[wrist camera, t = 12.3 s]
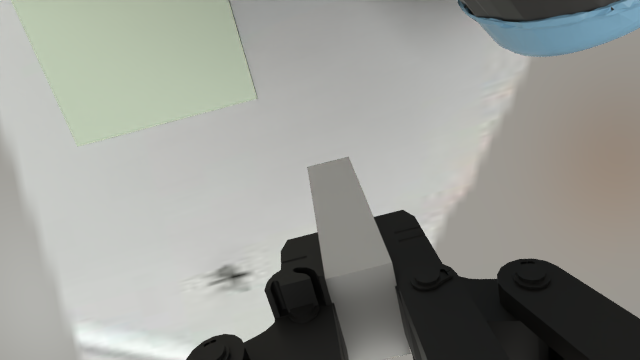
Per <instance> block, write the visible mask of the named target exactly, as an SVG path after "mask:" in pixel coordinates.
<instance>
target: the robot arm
mask: <svg viewBox="0 0 640 360" xmlns="http://www.w3.org/2000/svg"><path fill="white" fill-rule="evenodd" d="M458 4H459V6H460V7H461V9H462V10H463V11H464V12H465V14H466V15H468V16H469V17H470V18H472V19H474V20H475V21H477V22H478V23H479V24H480V25H481V26H482V27H483V28H484V30H485V31H486V32H487V33H488V34H489V35H490V36H491V37H492V38H493V40H494V41H495V42H496V43H497V44H499V45H500V46H501V47H503V48H505V49H508V50H510V51H512V52H514V53H517V54H521V55H524V56H534V57H547V56H557V55H564V54H569V53H574V52H578V51H582V50H585V49H589V48H592V47H595V46H598V45H601V44H604V43H607V42H609V41H612V40H614V39H617V38H619V37H621V36H624V35H626V34H628V33H630V32H632V31H634V30H636V29H638V28H640V0H458ZM307 168H308V174H309V180H310V186H311V193H312V199H313V205H314V212H315V218H316V224H317V231H318V232H317V233H313V234H310V235H306V236H302V237H298V238H294V239H290V240H287V242H286V244H285V245H284V247H283V249H282V250H281V270H280V271H279V272H277V273H276V274H274V275H273V276H272V277H271V278H270V279H269V281H268V282H267V284H266V287H265V293H266V295H267V298H268V301H269V304H270V307H271V309H272V312H273V315H274V318H275V322H274V324H273V325H272V326H271V327H269V328H268V329H267V330H266V331H264V332H263V333H261V334H260V335H258V336H256V337H254V338H252V339H250V340H248V341H246V342H244V343H243V341H242V339H240V338H239V337H237V336H235V335H229V334H223V335H218V336H214V337H212V338H210V339H208V340H206V341H204V342H202V343H201V344H200V345H198V346H197V347H196V348H195V349H194V350H193V351H192V352H191V354H190V355H189V356H188V358H187V359H186V360H386V359H390V358H394V357H399V356H403V355H407V354H410V349H411V352H412V355H413V360H640V319H639V318H638V317H636V316H635V315H633V314H631V313H630V312H628V311H627V310H625V309H624V308H622V307H620V306H619V305H617V304H616V303H614V302H612V301H611V300H609V299H608V298H606V297H605V296H603V295H602V294H600V293H598V292H597V291H595V290H594V289H592V288H591V287H589V286H588V285H586V284H584V283H583V282H581V281H580V280H578V279H577V278H575V277H573V276H572V275H570V274H569V273H567V272H566V271H564V270H562V269H561V268H559V267H558V266H556V265H554V264H551V263H549V262H547V261H543V260H538V259H519V260H515V261H512V262H509V263H507V264H506V265H504V266H503V267H501V268H500V271H499V272H498V274H497V279H468V278H464V277H460V276H458V275H457V273H456V272H455V271H454V270H453V269H452V268H451V267H448V266H446V265H444V264H442V262H441V260H440V259H439V257H438V256H437V254H436V252H435V250H434V249H433V247H432V245H431V244H430V242H429V240H428V238H427V237H426V236H425V233H424V232H423V230H422V228H421V227H420V225H419V223H418V222H417V220H416V218H415V217H414V216H413V215H411V214H409V213H407V212H406V211H404V210H400V211H396V212H392V213H388V214H384V215H380V216H376V217H373V215H372V212H371V210H370V208H369V205H368V203H367V200H366V198H365V195H364V193H363V190H362V188H361V186H360V183H359V181H358V178H357V176H356V173H355V171H354V169H353V166H352V164H351V161H350V159H349V157H345V158H341V159H337V160H333V161H330V162H326V163H322V164H318V165H314V166H310V167H307ZM409 347H410V348H409Z"/></svg>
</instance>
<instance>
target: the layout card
mask: <svg viewBox="0 0 640 360" xmlns="http://www.w3.org/2000/svg"><path fill="white" fill-rule="evenodd" d="M11 1H12V4H13V6H14V8H15V10H16V12H17V15H18V17H19V19H20V21H21V23H22V26H23V28H24V30H25V32H26V34H27V37H28V39H29V41H30V43H31V45H32V48H33V50H34V52H35V54H36V56H37V59H38V61H39V63H40V65H41V67H42V70H43V72H44V74H45V76H46V78H47V81H48V83H49V85H50V87H51V89H52V92H53V94H54V96H55V98H56V100H57V103H58V105H59V107H60V109H61V111H62V114H63V116H64V118H65V120H66V122H67V125H68V127H69V129H70V131H71V133H72V136H73V138H74V140H75V142H76V144H77V147H78V146H82V145H86V144H89V143H93V142H97V141H101V140H104V139H108V138H112V137H116V136H119V135H123V134H127V133H131V132H134V131H138V130H142V129H146V128H149V127H153V126H157V125H161V124H164V123H168V122H172V121H176V120H179V119H183V118H187V117H191V116H194V115H198V114H202V113H206V112H209V111H213V110H217V109H221V108H224V107H228V106H232V105H236V104H239V103H243V102H247V101H251V100H254V99H257V95H256V92H255V89H254V85H253V82H252V78H251V75H250V71H249V68H248V65H247V61H246V58H245V54H244V51H243V47H242V44H241V41H240V37H239V34H238V30H237V27H236V23H235V20H234V17H233V13H232V10H231V6H230V3H229V0H11Z"/></svg>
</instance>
